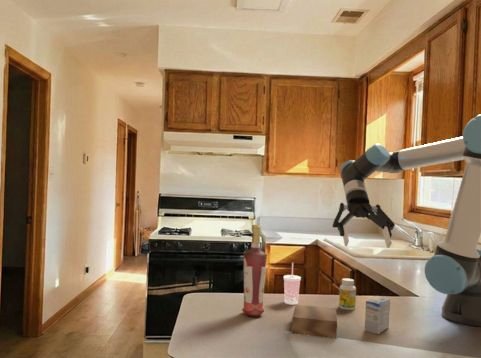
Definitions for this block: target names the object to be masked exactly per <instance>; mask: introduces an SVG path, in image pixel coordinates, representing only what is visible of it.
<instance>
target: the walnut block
mask: <svg viewBox="0 0 481 358" xmlns="http://www.w3.org/2000/svg"><path fill="white" fill-rule="evenodd" d="M291 319H292V320H291V321H292V322H291V323H292V324H291V334H292V335H298V334H300V336H307V335H309V336H308V337H316V338H324V337H325V339H333V338H335V340H337V327H338V318H337V307H335V308H333V307H324V306H314V305H305V304H294V310H293V313H292V318H291Z"/></svg>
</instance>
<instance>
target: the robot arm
mask: <svg viewBox="0 0 481 358" xmlns="http://www.w3.org/2000/svg"><path fill="white" fill-rule="evenodd" d="M457 161H465V163H466V165H465V168H464V171H463V175H462V178H461V182H460V185H459V189H458V192H457V196H456V199H455V203H454V206H453V210H452V213H451V216H450V219H449V222H448V226H447V230H446V234H445V236H444V239H443V240H441V241H439V242H437V245H436V247H435V250H434V255H433V256H431V257H430V258H429V259H428V260H427V261H426V263H425V265H424V276H425V279H426V280H427V282H428V284H429V285H430V286H431V287H432V288H433V289H434V290H435V291H437V292H439V293H441V294H444V295H446V297H445V299H444V302H443V304H442V307H441V315H442V317H443V318H445V319H446V320H449V321H452V322H453V323H454V322H455V323H458V324H462V325H466V326H468V325H469V326H474V327H481V248H480V249H478V248H477V246H478V244H479V239H480V236H481V114H478V115H476V116H475V117H473V118H471V119H470V120H469V121H468V122H467V124H466V125H465V126H464V128H463V132H462V136H459V137H455V138H454V137H453V138H451V139H445V140H441V141H437V142H433V143H427V144H424V145H418V146H414V147H409V148H403V149H400V150H396V151H391V152H389V150H387V148H386V147H385V146H384V145H382V144H380V143H375V144H374V145H372V146H371V147H369V148H367V150H366V151H365V152H363V153H362V154H361V155H360V156H359V157H358V158H357V159H356V160H353V159H349V160H348V161H345V162H343V163H342V164H341V165H340V169H339V171H340V178H341V181H342V186H343V191H344V195H345V201H346V204H344V202H340V204H339V207H338V212H337V214H336V216H335V217H334V220H333V223H332V228H337V231H339V236H340V237H342V239H343V244H344V246H345V247H348V245H349V242H350V240H349V235H348V229H347V223H349V221H350V220H352V218H354V217H355V218H365V219H367V220H370V221H371V222H372V223H374V224H375V225H377V226H378V227H380V228H381V229H382V235H383V240H384V242H385V245H386V248H388V249H389V248H390V247H391V245H392V240H391V239H392V235H393V233H392V231H393V230H394V228H395V226H396V224H395V222H394V221H393V220H392V219H391V218H390V217H389V215H387V214H386V212H385V211H384V210H382V208H381V206H380V204H376V205H373V206H372V205H371V204H370V199H369V195H368V192H367V188H366V184H365V180H366V179H367V178H369V177H370V176H371V175H373V174H374V173H375V172H380V173H381V172H382V173H389V174H398V173H401V172H402V171H406V170H411V169H417V168H418V169H419V168H422V167H430V166H434V165H440V164H441V165H442V164H447V163H452V162H457ZM346 210H347V211H348V213H347V214H345V216H344V217H343V218H342V220H341V217H342V215H343V213H344V212H345V211H346Z"/></svg>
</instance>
